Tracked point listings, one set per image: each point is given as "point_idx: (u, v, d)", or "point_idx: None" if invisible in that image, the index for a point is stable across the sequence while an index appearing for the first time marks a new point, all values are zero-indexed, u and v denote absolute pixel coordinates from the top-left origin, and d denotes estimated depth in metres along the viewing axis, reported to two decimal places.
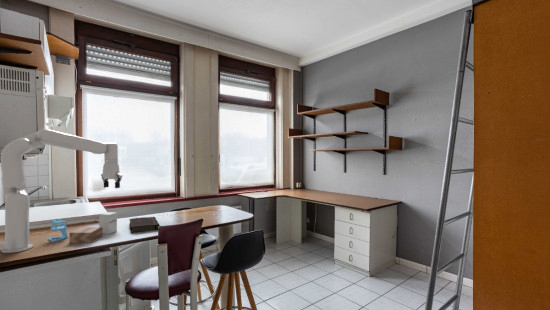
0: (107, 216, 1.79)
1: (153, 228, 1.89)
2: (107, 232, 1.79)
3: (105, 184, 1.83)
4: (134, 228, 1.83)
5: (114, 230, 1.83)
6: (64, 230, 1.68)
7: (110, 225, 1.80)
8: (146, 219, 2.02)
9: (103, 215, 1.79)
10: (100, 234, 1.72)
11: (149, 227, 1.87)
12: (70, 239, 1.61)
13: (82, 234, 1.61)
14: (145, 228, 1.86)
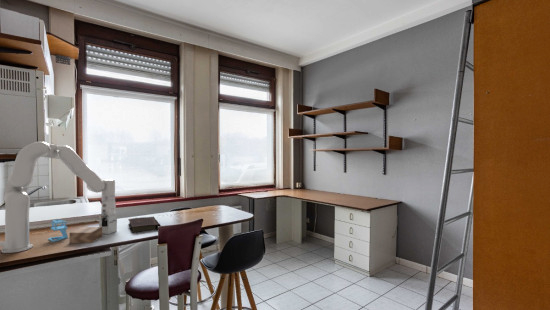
0: (107, 216, 1.79)
1: (154, 228, 1.89)
2: (107, 232, 1.79)
3: None
4: (135, 228, 1.83)
5: (114, 230, 1.83)
6: (64, 230, 1.68)
7: (110, 225, 1.80)
8: (145, 219, 2.02)
9: None
10: (100, 234, 1.72)
11: (150, 227, 1.88)
12: (70, 239, 1.61)
13: (82, 234, 1.61)
14: (146, 228, 1.86)
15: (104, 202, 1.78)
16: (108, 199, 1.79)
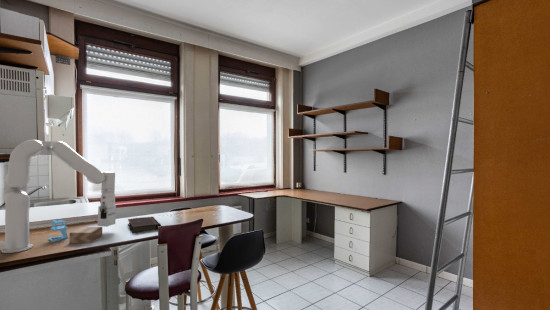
0: (106, 208, 1.78)
1: (154, 228, 1.89)
2: (106, 224, 1.78)
3: None
4: (135, 228, 1.83)
5: (113, 223, 1.83)
6: (64, 230, 1.68)
7: (109, 217, 1.79)
8: (145, 219, 2.02)
9: None
10: (100, 234, 1.72)
11: (150, 227, 1.88)
12: (70, 239, 1.61)
13: (82, 234, 1.61)
14: (146, 228, 1.87)
15: (104, 194, 1.78)
16: (108, 191, 1.79)
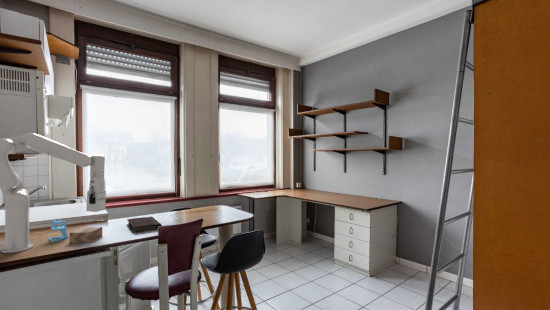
0: (95, 193, 1.70)
1: (155, 228, 1.90)
2: (95, 210, 1.70)
3: None
4: (136, 228, 1.83)
5: (102, 208, 1.75)
6: (64, 230, 1.68)
7: (98, 203, 1.71)
8: (145, 219, 2.02)
9: None
10: (100, 234, 1.72)
11: (151, 227, 1.88)
12: (70, 239, 1.61)
13: (82, 234, 1.61)
14: (147, 228, 1.87)
15: (92, 178, 1.70)
16: (97, 175, 1.71)
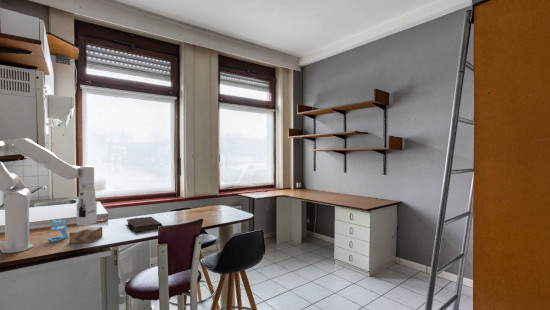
0: (85, 206, 1.63)
1: (155, 227, 1.90)
2: (85, 223, 1.63)
3: None
4: (137, 228, 1.83)
5: (93, 221, 1.68)
6: (64, 230, 1.68)
7: (89, 216, 1.65)
8: (144, 219, 2.02)
9: None
10: (100, 234, 1.72)
11: (151, 226, 1.89)
12: (70, 239, 1.61)
13: (82, 234, 1.61)
14: (148, 228, 1.87)
15: (82, 190, 1.63)
16: (86, 187, 1.64)
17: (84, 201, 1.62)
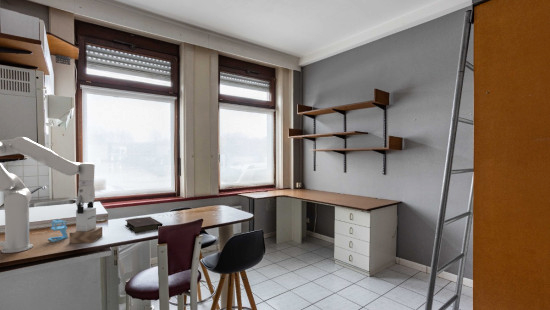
0: (85, 212, 1.63)
1: (156, 227, 1.91)
2: (85, 229, 1.64)
3: None
4: (138, 228, 1.83)
5: (93, 227, 1.68)
6: (64, 230, 1.68)
7: (89, 221, 1.65)
8: (144, 219, 2.02)
9: None
10: (100, 234, 1.72)
11: (152, 226, 1.89)
12: (70, 239, 1.61)
13: (82, 234, 1.61)
14: (148, 227, 1.88)
15: (81, 187, 1.63)
16: (86, 184, 1.64)
17: (83, 198, 1.62)
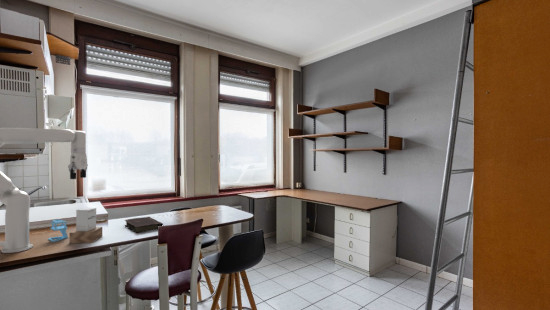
0: (85, 212, 1.64)
1: (156, 227, 1.91)
2: (85, 229, 1.64)
3: None
4: (138, 228, 1.83)
5: (93, 227, 1.69)
6: (64, 230, 1.68)
7: (89, 221, 1.65)
8: (143, 219, 2.02)
9: (81, 211, 1.64)
10: (100, 234, 1.72)
11: (153, 226, 1.90)
12: (70, 239, 1.61)
13: (82, 234, 1.61)
14: (149, 227, 1.88)
15: (73, 153, 1.69)
16: (77, 151, 1.70)
17: (75, 164, 1.68)
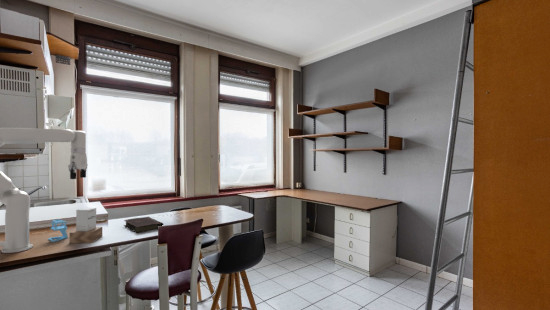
0: (85, 212, 1.64)
1: (157, 227, 1.92)
2: (85, 229, 1.64)
3: None
4: (139, 228, 1.83)
5: (93, 227, 1.69)
6: (64, 230, 1.68)
7: (89, 221, 1.65)
8: (143, 219, 2.01)
9: (81, 211, 1.64)
10: (100, 234, 1.72)
11: (153, 226, 1.90)
12: (70, 239, 1.61)
13: (82, 234, 1.61)
14: (149, 227, 1.88)
15: (73, 153, 1.69)
16: (77, 151, 1.70)
17: (75, 164, 1.68)
